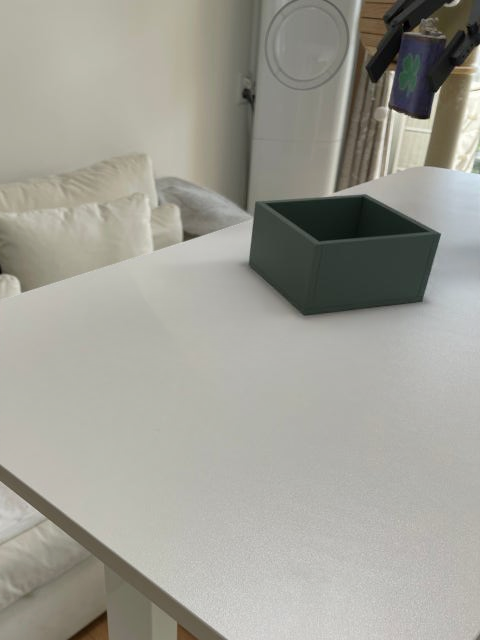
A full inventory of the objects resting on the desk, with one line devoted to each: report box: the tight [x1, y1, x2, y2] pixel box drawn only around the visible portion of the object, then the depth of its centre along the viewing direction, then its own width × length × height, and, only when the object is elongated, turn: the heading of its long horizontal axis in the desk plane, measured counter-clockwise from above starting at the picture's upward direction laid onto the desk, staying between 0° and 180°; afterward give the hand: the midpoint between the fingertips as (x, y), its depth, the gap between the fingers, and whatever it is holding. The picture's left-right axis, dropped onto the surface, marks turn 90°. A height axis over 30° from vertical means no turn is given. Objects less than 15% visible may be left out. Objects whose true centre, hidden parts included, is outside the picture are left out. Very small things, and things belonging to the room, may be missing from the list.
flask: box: [387, 17, 448, 121], centre depth 82 cm, size 9×3×11 cm, turn 8°
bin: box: [248, 193, 442, 316], centre depth 73 cm, size 15×15×8 cm
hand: (399, 79), depth 82 cm, fingers closed on flask, 8 cm apart
